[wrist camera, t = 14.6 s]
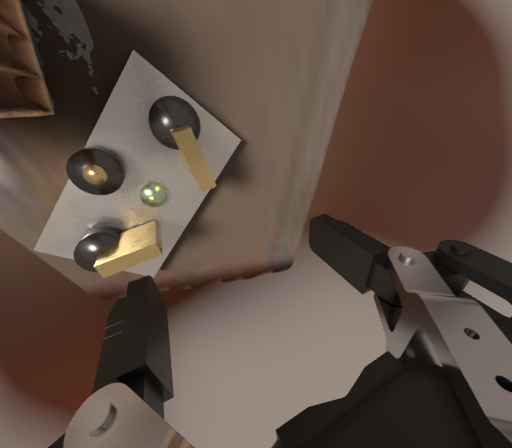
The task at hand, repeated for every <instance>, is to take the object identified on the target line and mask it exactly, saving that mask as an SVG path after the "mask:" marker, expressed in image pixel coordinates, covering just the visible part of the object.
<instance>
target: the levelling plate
mask: <svg viewBox="0 0 512 448" xmlns="http://www.w3.org/2000/svg"><path fill="white" fill-rule="evenodd" d="M164 96H177V97H180V98H182V99H184V100H186V101H187V102H188V103H189V104H191V106H192V107H193V108H194V109H195V111H196V112H197V114H198V117H199V120H200V126H201V128H200V134H199V137H198V139H197V143H198V145H199V147H200V150H201V152H202V154H203V156H204V159H205V161H206V163H207V165H208V168H209V170H210V172H211V174H212V177H213V179H214V181H216V179H217V177H218V176H219V174H220V173H221V171H222V170H223V168H224V166H225V165H226V163H227V162H228V160H229V159H230V157H231V155H232V154H233V152H234V151H235V149H236V148H237V146H238V144H239V143H240V141H241V140H240V139H239V138H238V137H237V136H236V135H234V134H233V133H232V132H231V131H230V130H228V129H227V128H226V127H225V126H224V125H223V124H221V123H220V122H219V121H218V120H217V119H215V118H214V117H213V116H212V115H211V114H209V113H208V112H207V111H206V110H205V109H203V108H202V107H201V106H200V105H199V104H197V103H196V102H195V101H194V100H193V99H192V98H190V97H189V96H188V95H187V94H186V93H184V92H183V91H182V90H181V89H180V88H178V87H177V86H176V85H175V84H174V83H172V82H171V81H170V80H169V79H168V78H166V77H165V76H164V75H163V74H162V73H161V72H159V71H158V70H157V69H156V68H155V67H153V66H152V65H151V64H150V63H149V62H147V61H146V60H145V59H144V58H143V57H141V56H140V55H139V54H138V53H137V52H135V51H134V50H133V51H132V53H131V55H130V57H129V59H128V61H127V63H126V65H125V67H124V69H123V71H122V73H121V75H120V77H119V79H118V81H117V83H116V85H115V87H114V89H113V91H112V93H111V95H110V97H109V99H108V101H107V103H106V106H105V108H104V110H103V112H102V114H101V116H100V118H99V120H98V122H97V124H96V126H95V128H94V130H93V132H92V134H91V136H90V138H89V140H88V142H87V144H86V146H85V148H84V149H82V150H80V151H78V152H76V153H75V154H73V155H72V156H71V157H70V158H69V160H68V162H67V165H66V171H67V175H68V177H69V180H68V182H67V184H66V186H65V188H64V190H63V192H62V194H61V196H60V198H59V200H58V202H57V204H56V206H55V208H54V210H53V212H52V214H51V216H50V218H49V220H48V222H47V224H46V226H45V228H44V230H43V232H42V234H41V236H40V238H39V240H38V242H37V244H36V246H35V248H34V251H38V252H43V253H47V254H52V255H56V256H61V257H65V258H70V259H74V255H73V254H74V250H75V248H76V246H77V244H78V242H79V241H80V239H81V237H82V236H83V235H84V234H85V233H86V232H87V231H89V230H91V229H94V228H99V227H108V228H113V229H116V230H118V231H120V232H124V231H127V230H129V229H132V228H135V227H138V226H141V225H144V224H147V223H149V222H152V221H156V223H157V225H158V227H159V228H160V230H161V240H162V254H163V255H161V256H158V257H156V258H153V259H151V260H148V261H146V262H143V263H141V264H138V265H136V266H133V267H131V268H128V269H126V270H123V271H128V272H132V273H137V274H141V275H146V276H148V275H150V276H151V277H154V276H155V275H156V273H157V272H158V270H159V269H160V267H161V265H162V264H163V262H164V261H165V259H166V258H167V256H168V254H169V253H170V251H171V250H172V248H173V247H174V245H175V243H176V242H177V240H178V239H179V237H180V236H181V234H182V232H183V231H184V229H185V228H186V226H187V225H188V223H189V221H190V220H191V218H192V217H193V215H194V214H195V212H196V210H197V209H198V207H199V206H200V204H201V203H202V201H203V199H204V198H205V196H206V195H207V193H208V192H209V190H207V191H205V192H203V193H202V192H201V190H200V189H199V187H198V185H197V184H196V182H195V180H194V179H193V177H192V175H191V173H190V171H189V169H188V167H187V165H186V163H185V161H184V159H183V157H182V155H181V153H180V151H179V150H175V149H171V148H168V147H166V146H164V145H163V144H161V143H160V142H159V141H158V140H157V139H156V138H155V136H154V135H153V133H152V131H151V129H150V126H149V111H150V108H151V106H152V105H153V103H154V102H155V101H156V100H158V99H159V98H161V97H164Z"/></svg>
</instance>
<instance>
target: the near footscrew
mask: <svg viewBox="0 0 512 448" xmlns="http://www.w3.org/2000/svg"><path fill="white" fill-rule="evenodd" d="M149 126H150V129H151V131H152V133H153V135H154V136H155V138H156V139H157V140H158V141H159V142H160V143H161V144H163V145H164V146H166V147H168V148H171V149H175V150H179V151H180V153H181V155H182V157H183V159H184V161H185V163H186V165H187V167H188V169H189V171H190V173H191V175H192V177H193V179H194V180H195V182H196V184H197V185H198V187H199V189H200V190H201V192H202V193H203V192H205V191H207V190H210V189H212V188H214V187H216V183H215V181H214V179H213V177H212V174H211V172H210V170H209V168H208V165H207V163H206V161H205V159H204V156H203V154H202V152H201V150H200V147H199V145H198V143H197V139H198V137H199V134H200V128H201V126H200V120H199V117H198V114H197V112H196V111H195V109H194V108H193V107H192V106H191V104H189V103H188V102H187V101H186V100H184V99H182V98H180V97H177V96H164V97H161V98H159V99H158V100H156V101H155V102H154V103H153V105H152V106H151V108H150V111H149Z"/></svg>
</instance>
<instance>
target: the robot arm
mask: <svg viewBox="0 0 512 448" xmlns="http://www.w3.org/2000/svg"><path fill="white" fill-rule="evenodd" d="M309 245H310V248H311V249H312V251H313V252H314V253H315V254H317V255H318V256H319V257H320V258H321V259H322V260H323V261H325V262H326V263H327V264H328V265H329V266H330V267H331V268H333V269H334V270H335V271H336V272H337V273H338V274H339V275H341V276H342V277H343V278H344V279H345V280H347V281H348V282H349V283H350V284H351V285H352V286H353V287H355V288H356V289H357V290H358V291H359V292H360V293H361V294H364V293H366V292H368V291H370V290H372V291H374V292H375V293H374V300H375V303H376V306H377V310H378V313H379V316H380V319H381V322H382V325H383V329H384V332H385V335H386V353H384V354H383V355H381V356H380V357H379V358H377V359H376V360H374V361H373V362H372V363H370V364H369V365H367V366H366V367H365V368H364V370H363V371H362V373H361V374H360V376H359V377H358V379H357V381H356V382H355V384H354V385H353V387H352V388H351V390H350V391H349V393H348V394H347V395H346V396H345V397H343V398H340V399H337V400H333V401H329V402H325V403H322V404H318V405H314V406H310V407H308V408H306V409H305V410H303V411H302V412H301V413H299V414H298V415H296V416H295V417H294V418H292V419H291V420H289V421H288V422H286V423H285V424H284V425H282V426H281V427H280V428H278V429H276V434H277V441H276V442H275V444H274V445H273V447H272V448H512V317H511V318H509V317H506V316H504V315H502V314H500V313H498V312H497V311H495V310H493V309H492V308H490V307H489V306H487V305H485V304H484V303H482V302H480V301H479V300H477V299H476V298H474V297H472V296H471V295H469V294H467V293H466V292H464V291H463V290H464V288H465V287H466V285H467V283H468V282H469V281H470V280H471V281H473V282H475V283H477V284H478V285H480V286H482V287H484V288H486V289H487V290H489V291H491V292H493V293H494V294H496V295H498V296H500V297H502V298H503V299H505V300H507V301H508V302H509V303H510V304H511V305H512V263H510V262H508V261H506V260H503V259H502V258H499V257H497V256H495V255H493V254H490V253H488V252H486V251H484V250H481V249H479V248H477V247H475V246H472V245H470V244H468V243H465V242H461V241H456V240H443V241H441V242H440V243H439V244H438V246H437V248H436V250H435V251H432V252H424V253H421V252H419V251H417V250H415V249H412V248H408V247H402V246H401V247H400V246H398V247H393V248H390V247H388V246H386V245H384V244H383V243H381V242H379V241H377V240H376V239H374V238H372V237H370V236H369V235H367V234H365V233H362V232H361V231H360V230H358V229H355V228H354V227H353V226H351V225H349V224H348V223H346V222H343V221H339V220H336V219H334V218H332V217H330V216H329V215H327V214H322V215H319V216H317V217H314V218H312V219H311V220H310V231H309ZM106 328H107V329H106V330H105V335H104V341H103V345H102V350H101V354H100V359H99V363H98V368H97V373H96V378H95V382H94V387H93V391H92V394H91V396H90V397H89V398H88V399H87V400H86V401H85V402H84V403H83V405H82V406H81V407H80V408H79V410H78V411H77V412H76V414H75V415H74V417H73V419H72V420H71V422H70V424H69V426H68V429H67V431H66V433H65V434H63V435H62V436H61V437H60V438H59V439H58V440H57V441H55V442H54V443H53V444H52V445H51V446H50V447H48V448H195V447H194V446H192V445H191V444H190V443H189V442H188V441H187V440H186V439H185V438H184V437H183V436H181V435H180V434H179V433H178V432H177V431H176V430H175V429H174V428H173V427H171V426H170V425H169V424H168V423H167V422H166V421H165V420H164V405H163V403H164V402H166V401H167V400H169V399H171V398H173V397H174V394H173V382H172V369H171V356H170V343H169V330H168V318H167V309H166V305H165V302H164V299H163V297H162V296H161V294H160V292H159V290H158V288H157V286H156V284H155V282H154V281H153V279H152V277H151V276H150V275H148V276H145V277H142V278H140V279H137V280H134V281H131V282H129V283H128V289H127V296H126V297H125V298H122V299H120V300H117V302H116V303H115V305H114V306H113V308H112V310H111V311H110V313H109V316H108V321H107V326H106Z"/></svg>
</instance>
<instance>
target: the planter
mask: <svg viewBox="0 0 512 448" xmlns="http://www.w3.org/2000/svg"><path fill="white" fill-rule="evenodd" d="M42 1H44V4H45V6H44V5H43V4H42V3H40V2H39V1H36V2H37V3H38V5H39V6H43V7H44V8H45V9H44V8H42V9H43V12H44V13H45V14H46V15H47V16H48V17H49V18H50V19H51V21H52V24H53V25H54V26H56V27H57V28H58V29H57V30H59V31H60V33H58V34H59V35H61V36H63V37H64V38H65V39H64V40H65V41H67V42H66V43H67V44H69V43H70V40H69V41H68V39H70V38H72V39H73V37H71V34H75V37H76V38H78V39H79V40H80V42H81V43H76V42H75V43H76V45H77V48H78V51H76V52H77V53H78V55H75V58H73V57H72V56H73V55H74V54H73V53H70V52H69V50H66V51H65V50H63V51H61V50H59V49H58V50H59V53H63V52H67V53H66V54H67V55H68V57H69V59H70V60H72V59H76V60H79V59H77V58H79V57H81V56H83V57H84V60H86V61H87V63H88V66H89V65H90V64H91V63H93V61H92V60H91V59H90V51H91V52H92V50H93V48H94V44H93V41H92V38H91V35H90V32H89V29H88V26H87V24H86V21H85V19H84V16H83V14H82V12H81V10H80V7H79V5H78V3H77V1H76V0H42ZM53 6H57V7H58V8H60V9H61V11H62V15H61V14H60V13H58V12H57V11H55V9H54V8H53ZM47 9H48V10H47ZM37 24H38V23H37V19H36V18H35V17H34V16H32V15H31V14H30V10H29V9H28V8H27V9H26V8H25V5H24V3H23V2H22V0H0V118H11V117H34V116H46V115H54V110H53V108H54V107H55V103H54V102H53V99H52V95H51V93H50V91H49V90H48V88H47V83H46V81H45V73H44V72H43V70H42V66H44V65H43V64H44V63H43V61H42V58H41V56H40V54H39V52H38V50H39V48H38V46H37V44H36V41H37V42H39V38H35V34H34V33H33V32H32V30H35V31H37V32H38V34H39V35H40V36H42V32H41V31H40V32H39V31H38V29H37ZM46 25H47V24H46ZM38 26H39V24H38ZM47 26H48V25H47ZM30 27H31V29H32V30H31V29H30ZM39 27H40V26H39ZM48 27H49V28H51V29H52V27H51V26H48ZM53 30H54V29H53ZM57 32H58V31H57ZM76 40H77V39H76ZM76 40H75V41H76ZM83 43H86V50H84V49H83V48H81V45H84V44H83ZM92 46H93V48H92ZM89 47H90V48H89ZM82 52H83V53H82ZM62 57H64V56H63V54H62ZM88 66H87V67H88ZM89 69H91V71H89V72H88V73H89V75H90V74H91V76H93V74H92V73H93V72H94V70H93V69H92V67H91V66H89ZM93 77H94V76H93ZM95 77H96V76H95ZM97 78H98V77H96V79H97ZM91 89H92V90H93V91H94V92H95V93H96V94H97V95H99V94H98V93H97V90H98V89H97V88H96V87H94V88H91Z"/></svg>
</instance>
